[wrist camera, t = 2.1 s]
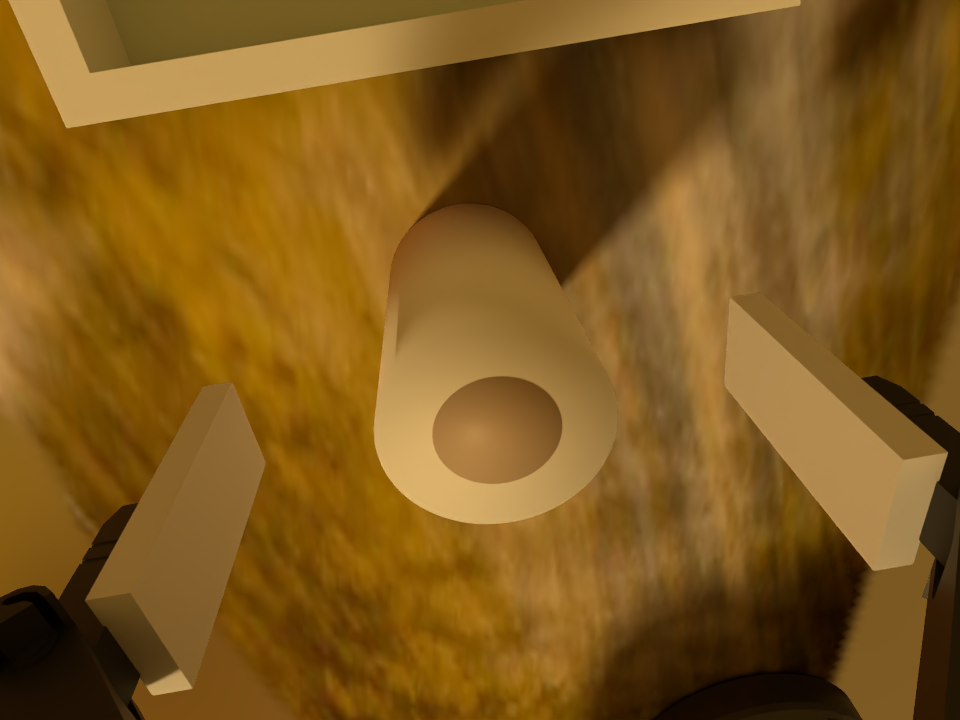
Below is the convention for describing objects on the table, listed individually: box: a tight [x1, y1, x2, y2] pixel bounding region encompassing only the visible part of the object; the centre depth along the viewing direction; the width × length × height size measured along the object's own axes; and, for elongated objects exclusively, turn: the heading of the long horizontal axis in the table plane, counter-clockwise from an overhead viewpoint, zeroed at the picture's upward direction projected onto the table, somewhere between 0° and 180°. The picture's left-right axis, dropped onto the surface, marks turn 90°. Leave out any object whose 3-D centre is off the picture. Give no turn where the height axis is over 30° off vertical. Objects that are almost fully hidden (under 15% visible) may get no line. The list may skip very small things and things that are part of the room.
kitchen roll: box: [374, 203, 618, 524], centre depth 20 cm, size 6×6×10 cm
